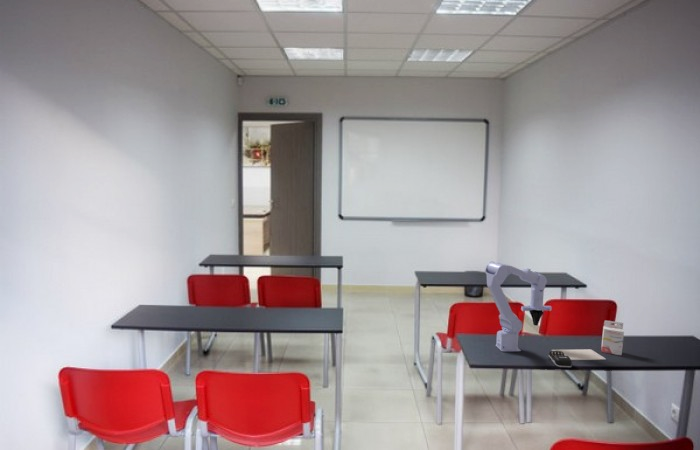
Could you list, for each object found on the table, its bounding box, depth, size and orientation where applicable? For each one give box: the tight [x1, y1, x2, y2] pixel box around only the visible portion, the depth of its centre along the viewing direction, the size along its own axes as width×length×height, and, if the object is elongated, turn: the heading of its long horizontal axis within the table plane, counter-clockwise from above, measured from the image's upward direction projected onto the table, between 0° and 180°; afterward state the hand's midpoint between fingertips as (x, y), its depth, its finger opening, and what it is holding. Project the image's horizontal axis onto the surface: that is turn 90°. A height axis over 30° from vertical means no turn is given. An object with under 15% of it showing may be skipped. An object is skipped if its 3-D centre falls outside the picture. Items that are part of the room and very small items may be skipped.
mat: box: [550, 348, 607, 361], centre depth 226 cm, size 20×12×1 cm, turn 95°
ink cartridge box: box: [600, 319, 625, 356], centre depth 230 cm, size 9×5×15 cm, turn 65°
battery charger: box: [548, 350, 573, 369], centre depth 216 cm, size 7×4×11 cm
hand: (535, 324), depth 237 cm, fingers closed
